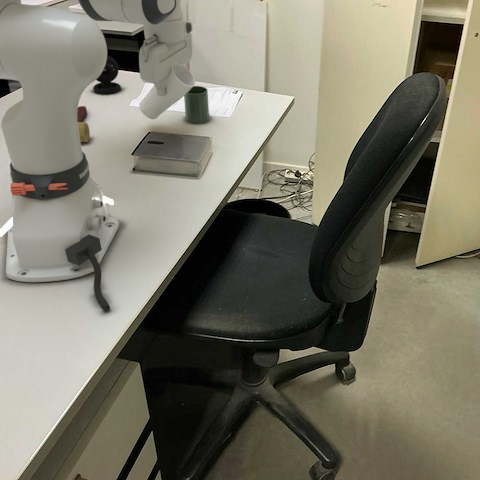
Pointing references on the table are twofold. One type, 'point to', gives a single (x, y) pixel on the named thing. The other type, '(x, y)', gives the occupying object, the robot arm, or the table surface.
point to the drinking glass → (168, 92)
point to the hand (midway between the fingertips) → (170, 89)
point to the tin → (197, 105)
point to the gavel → (82, 124)
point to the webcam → (108, 78)
